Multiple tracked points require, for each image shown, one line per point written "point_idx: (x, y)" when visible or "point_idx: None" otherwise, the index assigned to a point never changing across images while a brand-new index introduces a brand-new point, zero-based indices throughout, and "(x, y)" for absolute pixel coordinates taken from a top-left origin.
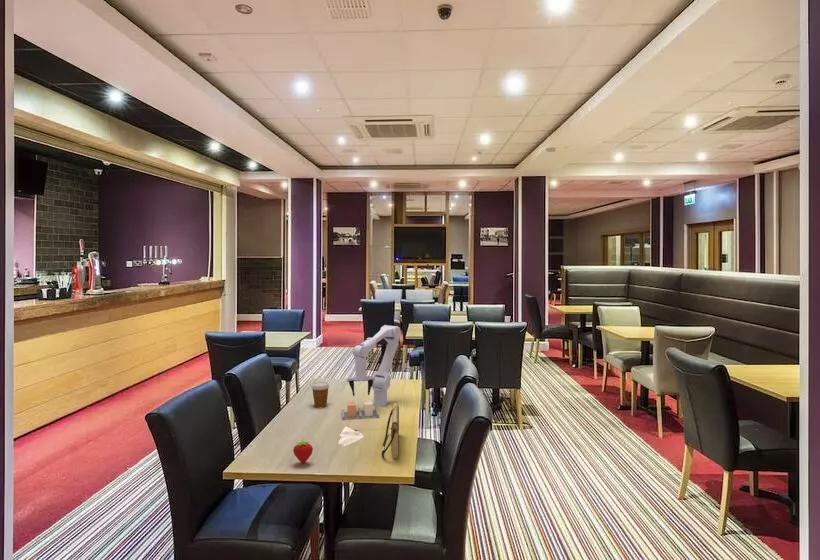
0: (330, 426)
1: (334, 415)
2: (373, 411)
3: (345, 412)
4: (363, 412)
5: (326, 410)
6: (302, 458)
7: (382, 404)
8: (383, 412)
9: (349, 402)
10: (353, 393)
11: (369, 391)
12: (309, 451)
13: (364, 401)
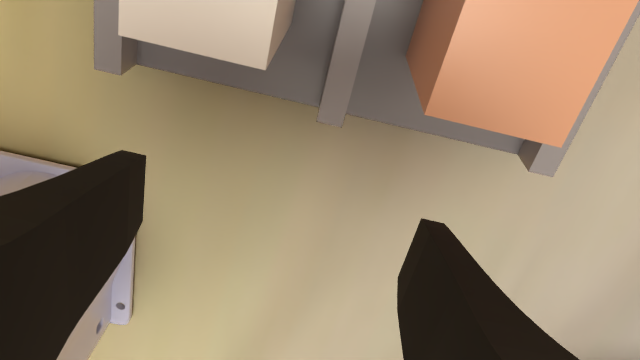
0: None
1: (626, 145)
2: None
3: (503, 136)
4: (296, 41)
5: (610, 313)
6: None
7: (19, 183)
8: (40, 2)
9: (538, 107)
10: (454, 243)
11: (76, 172)
12: None
13: (261, 48)
